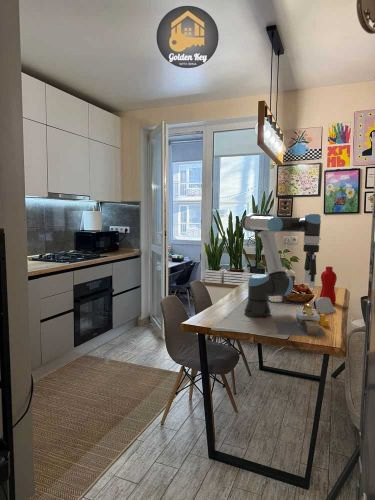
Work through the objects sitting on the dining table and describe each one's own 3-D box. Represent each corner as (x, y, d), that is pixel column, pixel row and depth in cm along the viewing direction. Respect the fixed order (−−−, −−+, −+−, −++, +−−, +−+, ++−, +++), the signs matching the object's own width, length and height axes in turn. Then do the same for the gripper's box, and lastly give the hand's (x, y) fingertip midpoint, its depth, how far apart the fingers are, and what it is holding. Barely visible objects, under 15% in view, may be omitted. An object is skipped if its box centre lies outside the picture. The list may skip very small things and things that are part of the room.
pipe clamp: (328, 327, 182) (329, 315, 182) (320, 327, 182) (321, 315, 182) (318, 320, 194) (318, 309, 194) (310, 320, 194) (311, 309, 194)
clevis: (301, 334, 167) (302, 320, 166) (295, 322, 187) (296, 309, 186) (323, 336, 165) (324, 322, 165) (315, 323, 185) (315, 311, 185)
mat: (278, 334, 168) (278, 334, 168) (274, 321, 190) (274, 320, 190) (326, 338, 164) (326, 337, 164) (316, 324, 187) (316, 323, 187)
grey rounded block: (321, 315, 204) (316, 298, 206) (314, 316, 208) (310, 299, 210) (336, 311, 215) (331, 295, 216) (329, 312, 218) (325, 296, 220)
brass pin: (305, 328, 178) (306, 305, 177) (303, 325, 181) (304, 303, 180) (312, 328, 177) (313, 305, 176) (311, 326, 181) (312, 303, 180)
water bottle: (329, 300, 243) (331, 265, 241) (337, 304, 232) (339, 267, 230) (316, 300, 243) (318, 265, 240) (323, 304, 232) (325, 267, 229)
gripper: (324, 246, 164) (321, 290, 166) (314, 242, 188) (312, 281, 190) (307, 245, 165) (305, 289, 167) (300, 242, 189) (298, 280, 191)
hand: (309, 285), depth 178 cm, fingers open, 13 cm apart
